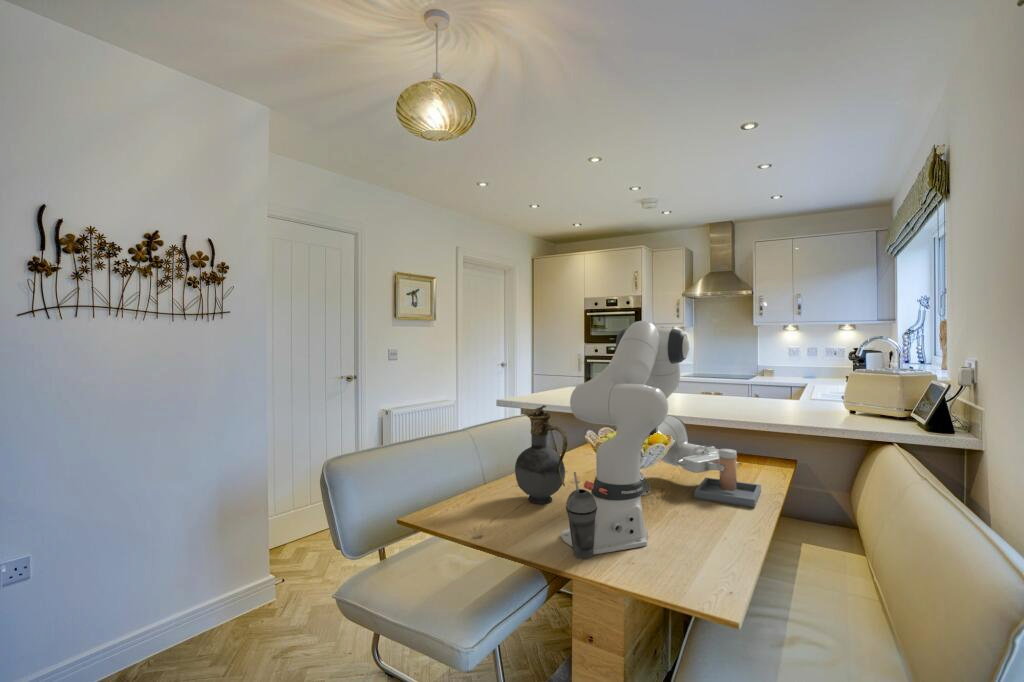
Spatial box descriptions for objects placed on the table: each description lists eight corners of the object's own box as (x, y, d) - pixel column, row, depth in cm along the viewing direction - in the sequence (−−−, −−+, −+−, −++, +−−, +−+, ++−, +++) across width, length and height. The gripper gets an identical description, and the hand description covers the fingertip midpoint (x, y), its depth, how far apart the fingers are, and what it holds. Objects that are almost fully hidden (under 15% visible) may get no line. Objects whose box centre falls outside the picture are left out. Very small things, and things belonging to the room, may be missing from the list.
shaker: (729, 491, 152) (729, 453, 152) (715, 487, 157) (715, 450, 157) (740, 489, 155) (740, 451, 155) (726, 484, 159) (725, 448, 159)
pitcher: (534, 491, 163) (532, 401, 163) (579, 504, 149) (577, 406, 149) (510, 498, 156) (509, 404, 155) (555, 513, 142) (553, 410, 142)
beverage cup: (599, 563, 110) (596, 478, 108) (566, 562, 112) (563, 478, 109) (598, 545, 118) (595, 466, 115) (568, 544, 119) (564, 466, 116)
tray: (754, 508, 144) (754, 499, 144) (694, 498, 153) (694, 490, 153) (761, 492, 158) (760, 484, 158) (705, 484, 167) (705, 477, 167)
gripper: (673, 452, 162) (708, 461, 150) (714, 445, 172) (750, 452, 160) (673, 471, 162) (708, 481, 150) (714, 463, 172) (750, 472, 160)
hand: (730, 466), depth 155 cm, fingers closed on shaker, 5 cm apart
